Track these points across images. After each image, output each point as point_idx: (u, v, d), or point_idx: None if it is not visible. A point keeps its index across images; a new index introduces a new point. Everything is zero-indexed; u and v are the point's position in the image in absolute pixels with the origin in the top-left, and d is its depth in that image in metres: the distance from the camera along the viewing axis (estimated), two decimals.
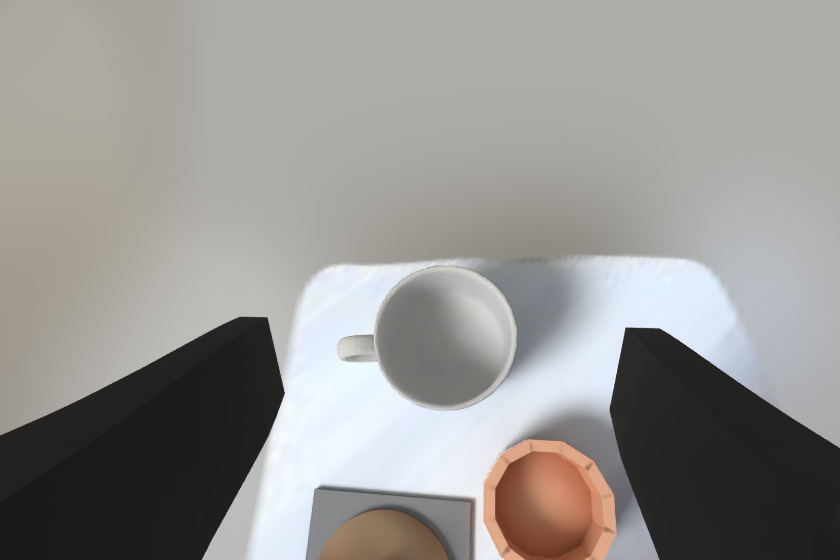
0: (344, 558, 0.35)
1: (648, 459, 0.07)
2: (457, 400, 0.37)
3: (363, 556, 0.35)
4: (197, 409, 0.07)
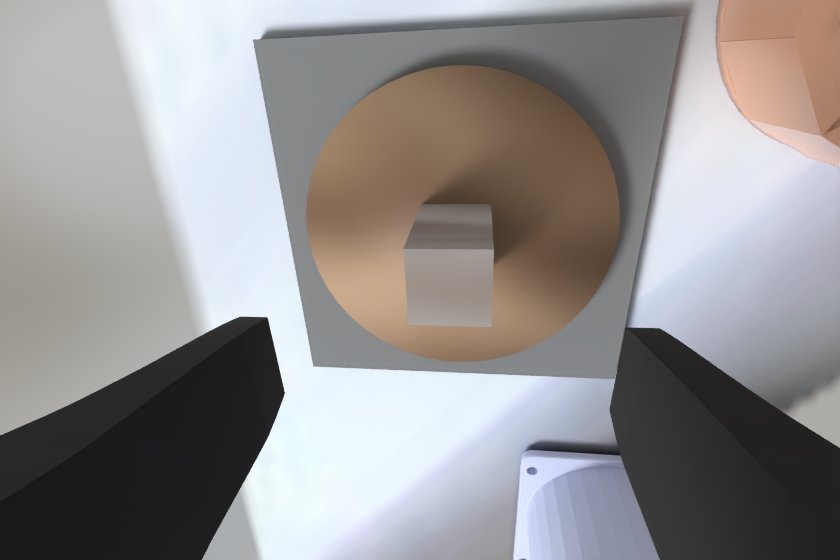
0: (363, 186, 0.15)
1: (648, 459, 0.07)
2: None
3: (406, 177, 0.15)
4: (197, 409, 0.07)
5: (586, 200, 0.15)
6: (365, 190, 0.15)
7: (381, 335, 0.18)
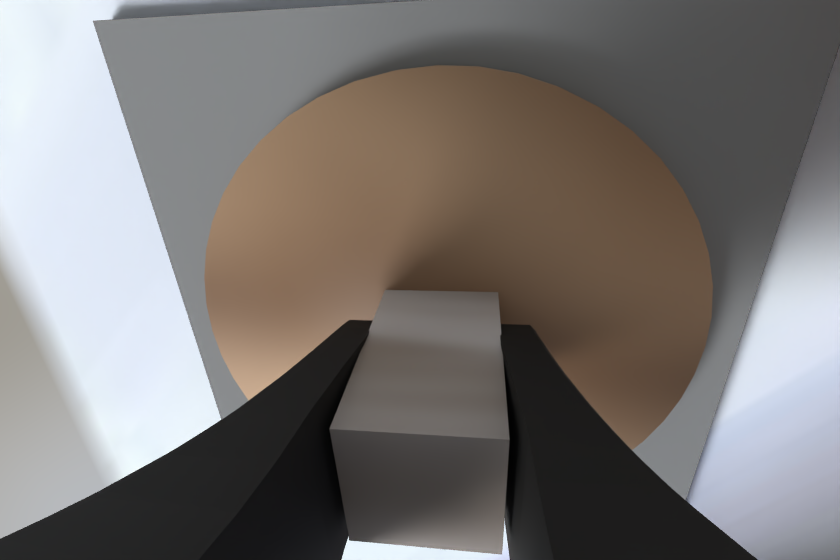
0: (291, 260, 0.10)
1: None
2: None
3: (359, 249, 0.09)
4: None
5: (657, 291, 0.09)
6: (295, 266, 0.10)
7: None
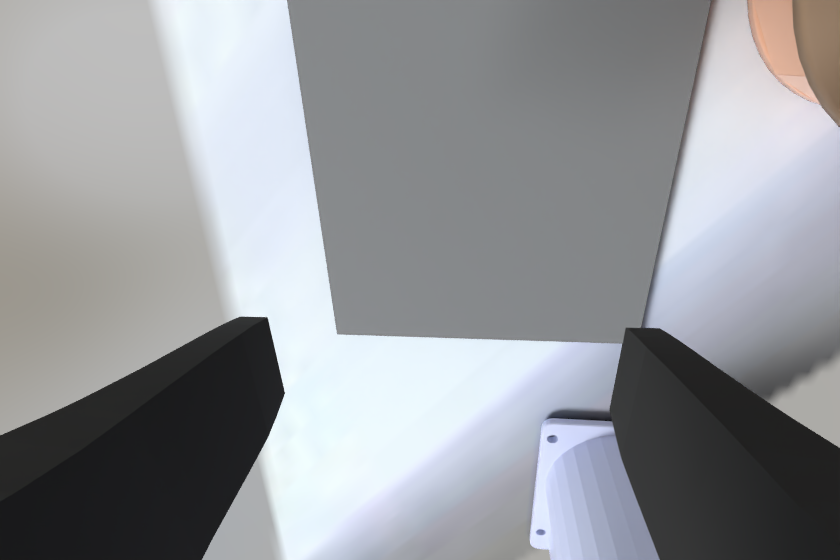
0: None
1: (648, 459, 0.07)
2: None
3: None
4: (197, 409, 0.07)
5: None
6: None
7: None
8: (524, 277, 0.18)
